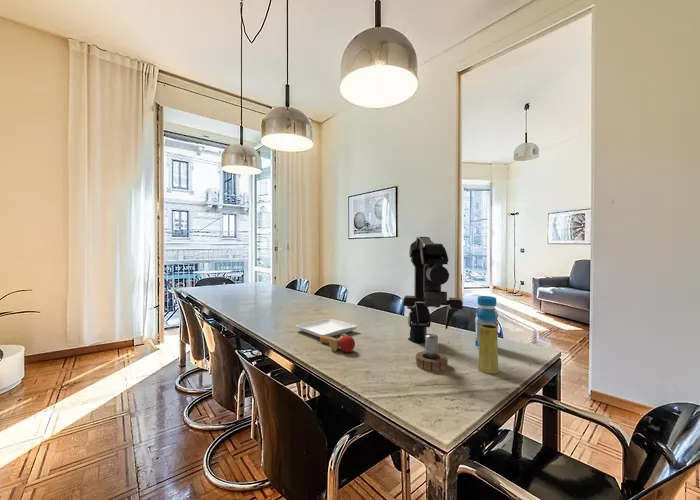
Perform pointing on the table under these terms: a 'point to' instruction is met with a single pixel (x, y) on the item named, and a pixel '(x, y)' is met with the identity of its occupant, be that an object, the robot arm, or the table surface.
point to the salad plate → (326, 327)
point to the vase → (488, 349)
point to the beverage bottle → (485, 314)
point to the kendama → (339, 342)
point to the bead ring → (431, 362)
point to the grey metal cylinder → (431, 346)
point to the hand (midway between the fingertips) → (431, 327)
